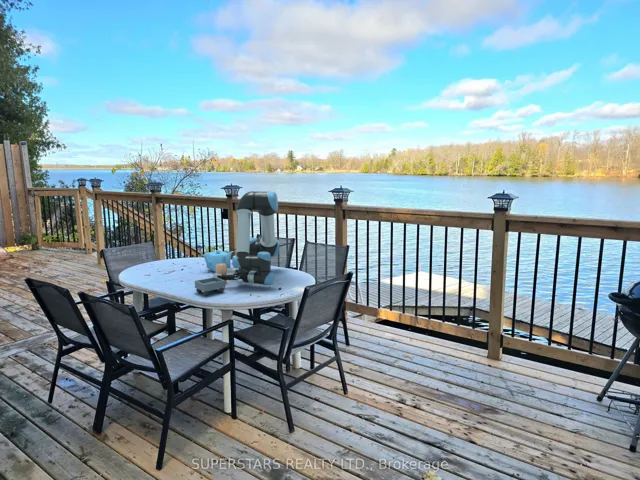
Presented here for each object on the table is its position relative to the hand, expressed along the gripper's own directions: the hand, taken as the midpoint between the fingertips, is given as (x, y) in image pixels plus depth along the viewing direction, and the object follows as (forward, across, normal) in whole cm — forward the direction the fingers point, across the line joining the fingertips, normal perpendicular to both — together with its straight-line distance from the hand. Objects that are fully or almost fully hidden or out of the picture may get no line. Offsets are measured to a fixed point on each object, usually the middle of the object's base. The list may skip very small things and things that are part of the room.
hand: (220, 273), depth 245 cm
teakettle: (+19, +26, -7) cm, 33 cm away
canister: (0, +1, -6) cm, 6 cm away
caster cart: (-6, -19, -6) cm, 21 cm away
